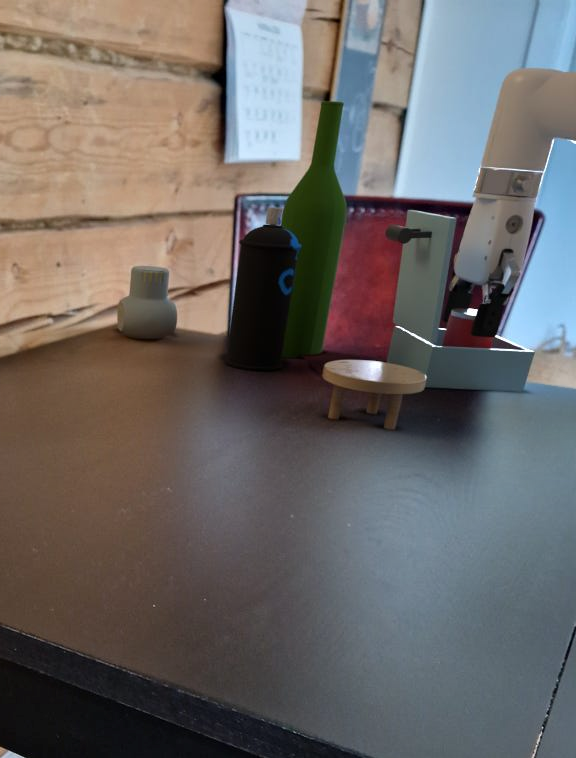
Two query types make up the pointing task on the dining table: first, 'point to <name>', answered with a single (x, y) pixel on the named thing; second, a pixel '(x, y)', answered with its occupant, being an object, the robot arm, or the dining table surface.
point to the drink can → (464, 331)
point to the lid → (422, 271)
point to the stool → (372, 384)
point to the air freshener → (147, 305)
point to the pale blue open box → (462, 362)
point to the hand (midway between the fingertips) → (467, 329)
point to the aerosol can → (262, 296)
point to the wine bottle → (315, 238)
